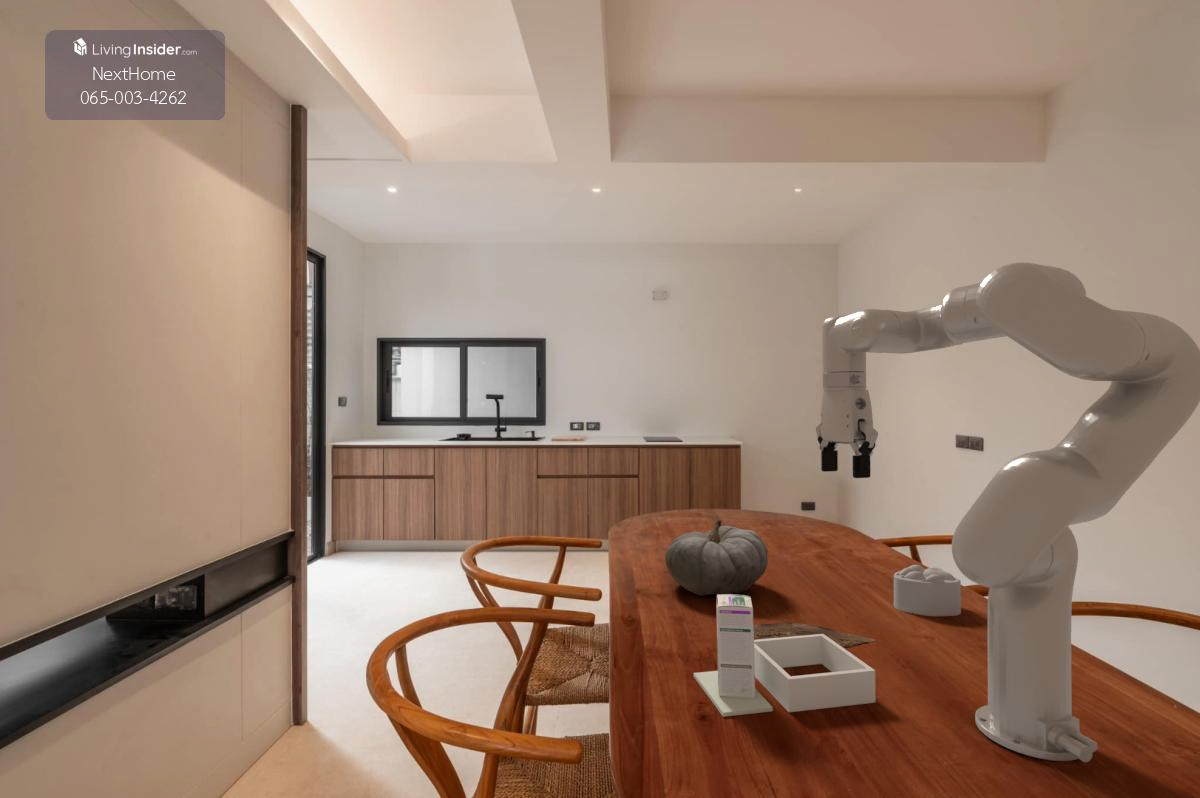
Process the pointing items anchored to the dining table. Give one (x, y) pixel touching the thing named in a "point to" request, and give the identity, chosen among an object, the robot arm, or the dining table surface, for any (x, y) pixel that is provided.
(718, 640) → the syrup box
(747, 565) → the gourd
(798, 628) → the wooden fragment
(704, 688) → the mat
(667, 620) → the dining table surface
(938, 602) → the lumpy-topped squat cylinder
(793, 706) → the square frame
